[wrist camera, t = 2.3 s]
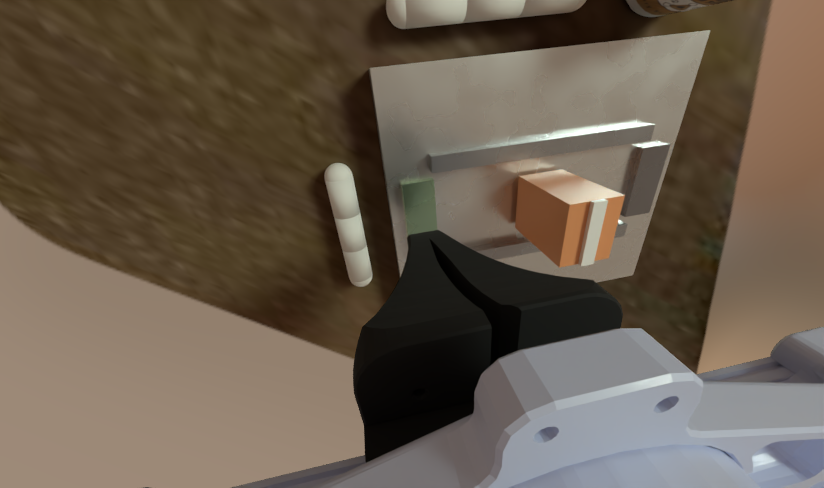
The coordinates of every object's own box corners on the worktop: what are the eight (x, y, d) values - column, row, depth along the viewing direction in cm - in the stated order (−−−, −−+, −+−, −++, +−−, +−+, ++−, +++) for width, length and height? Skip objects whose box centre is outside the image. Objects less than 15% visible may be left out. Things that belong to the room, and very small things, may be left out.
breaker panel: (616, 263, 22) (640, 280, 20) (403, 305, 20) (408, 326, 19) (679, 34, 15) (724, 28, 13) (368, 69, 14) (370, 67, 12)
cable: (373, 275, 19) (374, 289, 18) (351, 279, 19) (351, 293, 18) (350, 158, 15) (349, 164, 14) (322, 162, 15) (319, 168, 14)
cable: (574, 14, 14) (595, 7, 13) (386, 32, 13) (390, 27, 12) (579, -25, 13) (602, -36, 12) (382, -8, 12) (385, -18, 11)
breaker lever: (554, 220, 17) (612, 260, 13) (515, 227, 17) (561, 270, 13) (561, 169, 16) (629, 196, 12) (518, 175, 15) (572, 206, 12)
